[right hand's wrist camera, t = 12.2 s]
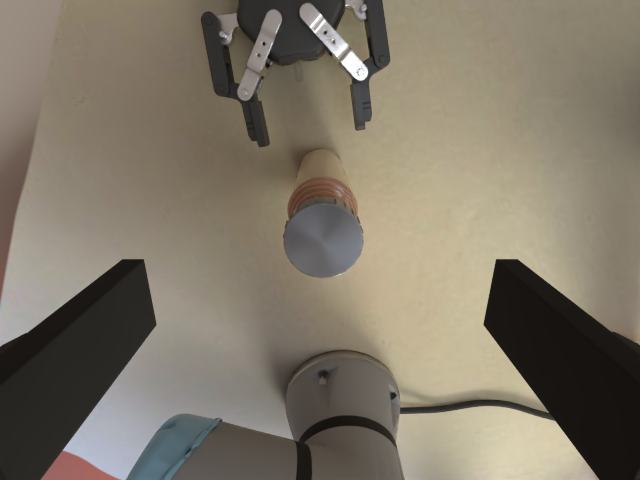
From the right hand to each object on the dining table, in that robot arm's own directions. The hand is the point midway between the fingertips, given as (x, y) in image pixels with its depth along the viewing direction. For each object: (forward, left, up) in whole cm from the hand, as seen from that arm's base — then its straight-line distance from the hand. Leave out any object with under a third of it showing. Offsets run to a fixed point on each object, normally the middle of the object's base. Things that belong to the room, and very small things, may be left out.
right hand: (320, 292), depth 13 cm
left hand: (+2, -3, -21) cm, 21 cm away
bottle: (0, 0, -26) cm, 26 cm away
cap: (0, 0, -5) cm, 5 cm away
